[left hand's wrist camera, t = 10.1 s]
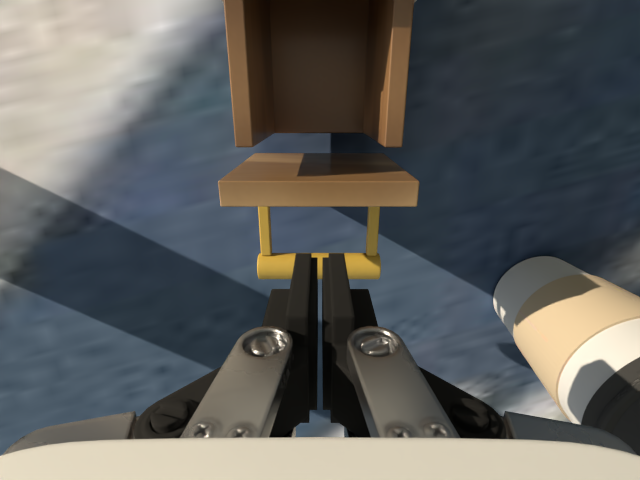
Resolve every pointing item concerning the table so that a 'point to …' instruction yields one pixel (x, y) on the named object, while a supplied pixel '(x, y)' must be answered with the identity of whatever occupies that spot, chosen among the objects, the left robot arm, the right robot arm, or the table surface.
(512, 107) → the table surface
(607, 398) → the coffee cup
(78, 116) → the table surface
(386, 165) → the drawer
